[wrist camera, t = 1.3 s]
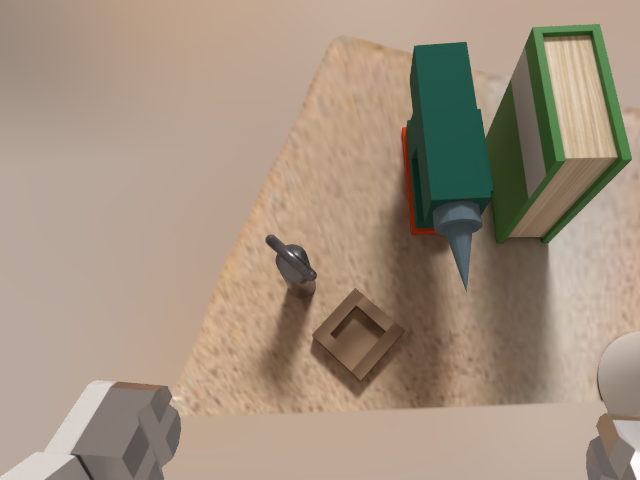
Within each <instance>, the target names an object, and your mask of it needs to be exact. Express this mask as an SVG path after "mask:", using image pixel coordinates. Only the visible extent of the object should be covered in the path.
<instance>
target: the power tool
mask: <svg viewBox="0 0 640 480" xmlns="http://www.w3.org/2000/svg"><path fill="white" fill-rule="evenodd" d="M410 88H411V97H412V107H413V114H412V118H411V120H408V121H407V127H403V128H402V137H403V147H404V158H405V169H406V180H407V191H408V201H409V212H410V223H411V234H412V235H417V234H439V235H442V236H447V239H448V242H449V244H450V247H451V250H452V253H453V256H454V258H455V261H456V264H457V267H458V269H459V272H460V275H461V278H462V281H463V283H464V286H465V289H466V292H467V282H468V272H469V261H470V250H471V240H472V233H473V232H476V231H478V230H479V229H480V228H481V227H482V221H481V215H482V213H483V211H484V209H485V208H486V206H487V204H488V202H489V200H490V199H491V194H492V192H493V191H494V189H493V183H492V177H491V171H490V165H489V159H488V152H487V146H486V140H485V134H484V128H483V122H482V116H481V109H477V105H476V98H475V92H474V86H473V80H472V74H471V67H470V61H469V55H468V50H467V43H466V42H459V43H446V44H433V45H418V46H414V52H413V59H412V66H411V74H410Z"/></svg>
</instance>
